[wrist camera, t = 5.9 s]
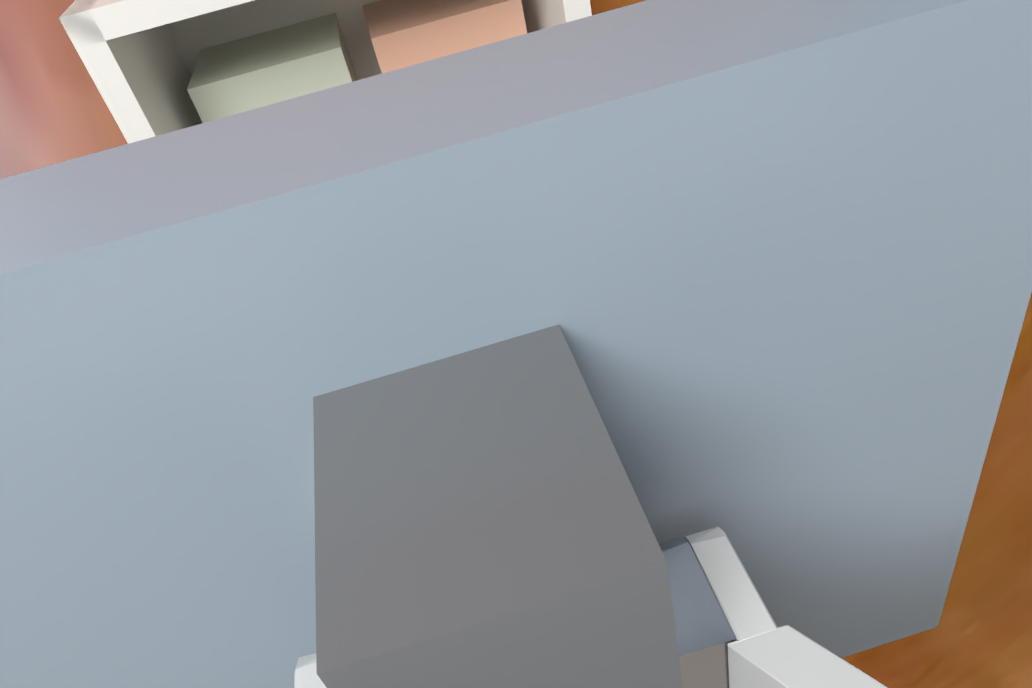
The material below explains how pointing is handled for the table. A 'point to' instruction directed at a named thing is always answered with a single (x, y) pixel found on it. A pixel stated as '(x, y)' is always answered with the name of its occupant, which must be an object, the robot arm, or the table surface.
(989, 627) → the table surface
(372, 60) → the storage box
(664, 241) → the lid
